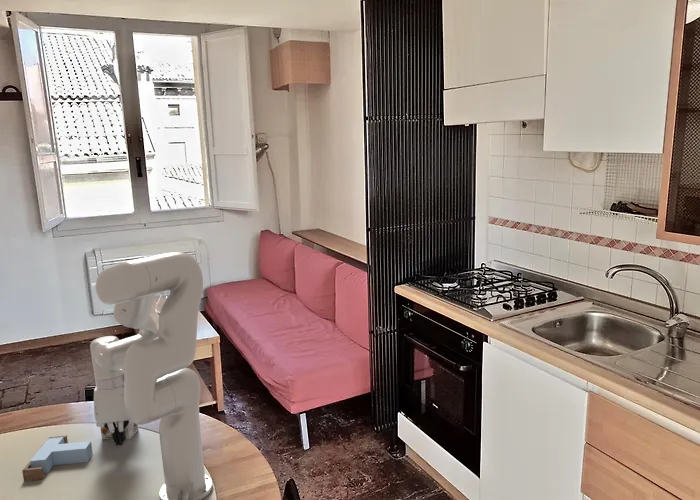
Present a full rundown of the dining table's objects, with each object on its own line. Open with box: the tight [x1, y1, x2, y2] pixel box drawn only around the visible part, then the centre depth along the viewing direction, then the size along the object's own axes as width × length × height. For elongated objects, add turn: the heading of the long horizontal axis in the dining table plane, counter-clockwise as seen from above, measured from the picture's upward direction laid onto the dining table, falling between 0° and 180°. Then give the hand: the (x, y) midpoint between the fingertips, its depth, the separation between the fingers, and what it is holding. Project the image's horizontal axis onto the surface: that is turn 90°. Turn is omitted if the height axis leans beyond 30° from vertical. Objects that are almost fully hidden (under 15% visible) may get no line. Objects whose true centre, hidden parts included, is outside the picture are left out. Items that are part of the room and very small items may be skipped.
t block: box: [29, 437, 93, 474], centre depth 155 cm, size 12×13×4 cm
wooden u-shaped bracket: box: [21, 435, 69, 482], centre depth 154 cm, size 18×5×3 cm, turn 7°
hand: (120, 443), depth 155 cm, fingers closed
